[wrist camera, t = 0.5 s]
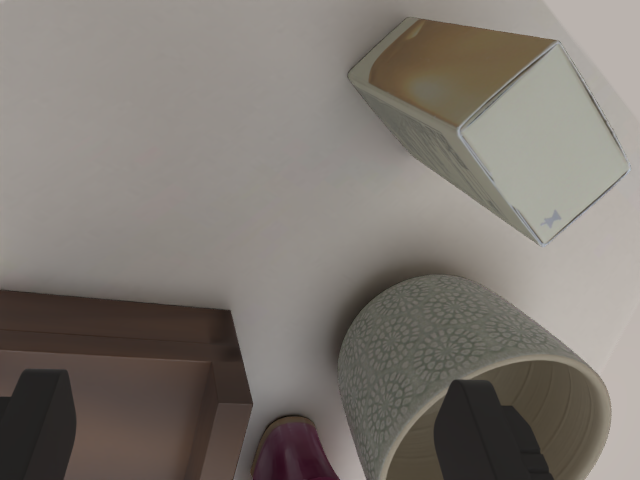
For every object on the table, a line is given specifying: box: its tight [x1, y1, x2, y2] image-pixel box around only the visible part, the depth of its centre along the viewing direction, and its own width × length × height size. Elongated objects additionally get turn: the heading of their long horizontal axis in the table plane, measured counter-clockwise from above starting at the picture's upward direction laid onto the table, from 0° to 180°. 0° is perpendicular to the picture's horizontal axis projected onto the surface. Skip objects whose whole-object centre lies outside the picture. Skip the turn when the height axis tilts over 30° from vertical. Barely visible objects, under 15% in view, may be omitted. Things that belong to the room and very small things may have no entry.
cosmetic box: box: [348, 17, 631, 247], centre depth 24 cm, size 6×4×12 cm
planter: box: [338, 274, 611, 480], centre depth 32 cm, size 12×12×11 cm
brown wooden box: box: [0, 290, 253, 480], centre depth 30 cm, size 16×12×8 cm
